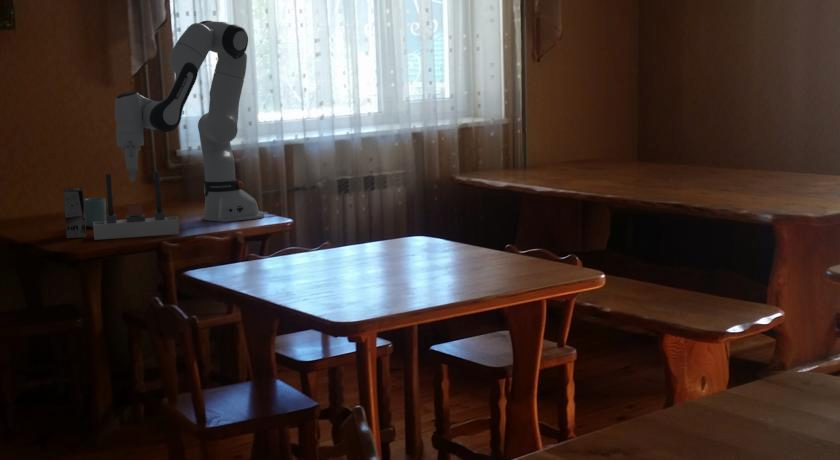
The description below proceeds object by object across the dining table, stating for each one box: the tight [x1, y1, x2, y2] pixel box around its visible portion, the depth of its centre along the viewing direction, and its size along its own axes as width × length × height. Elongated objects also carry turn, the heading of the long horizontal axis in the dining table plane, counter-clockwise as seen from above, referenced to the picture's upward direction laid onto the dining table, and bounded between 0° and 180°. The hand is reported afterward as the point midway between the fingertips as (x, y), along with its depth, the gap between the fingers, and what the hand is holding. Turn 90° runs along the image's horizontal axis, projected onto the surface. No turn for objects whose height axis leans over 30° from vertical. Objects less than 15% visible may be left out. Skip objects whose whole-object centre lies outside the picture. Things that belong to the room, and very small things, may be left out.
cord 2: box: [153, 171, 166, 220], centre depth 361 cm, size 3×4×16 cm
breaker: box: [128, 204, 143, 216], centre depth 360 cm, size 4×1×3 cm, turn 105°
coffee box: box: [62, 187, 87, 239], centre depth 361 cm, size 9×6×16 cm
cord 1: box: [105, 173, 117, 224], centre depth 357 cm, size 3×4×16 cm
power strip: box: [92, 213, 180, 241], centre depth 361 cm, size 28×7×7 cm, turn 105°
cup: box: [84, 197, 107, 228], centre depth 378 cm, size 8×8×10 cm
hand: (132, 181), depth 358 cm, fingers closed
